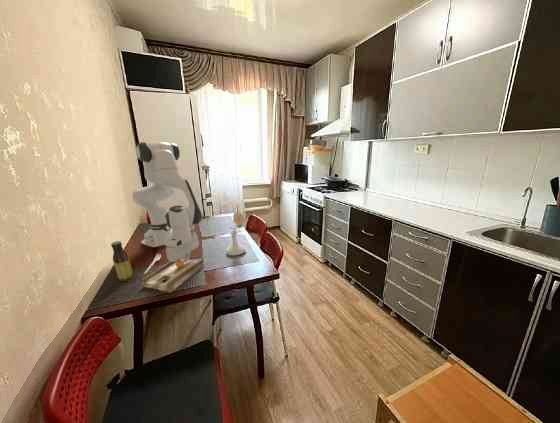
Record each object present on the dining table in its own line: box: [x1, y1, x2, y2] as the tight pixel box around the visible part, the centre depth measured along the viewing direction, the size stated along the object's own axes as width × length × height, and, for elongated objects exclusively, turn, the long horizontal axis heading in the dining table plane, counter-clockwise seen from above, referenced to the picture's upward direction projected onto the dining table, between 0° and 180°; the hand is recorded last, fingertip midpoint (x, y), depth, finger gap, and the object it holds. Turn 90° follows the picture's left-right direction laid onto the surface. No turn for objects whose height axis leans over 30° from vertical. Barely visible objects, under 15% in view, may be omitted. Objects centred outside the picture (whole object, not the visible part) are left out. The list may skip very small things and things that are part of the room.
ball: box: [176, 260, 184, 268], centre depth 119 cm, size 4×4×4 cm
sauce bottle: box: [110, 240, 134, 282], centre depth 114 cm, size 7×6×20 cm
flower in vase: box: [225, 211, 246, 256], centre depth 136 cm, size 13×11×25 cm
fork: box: [143, 253, 162, 275], centre depth 130 cm, size 3×20×2 cm, turn 6°
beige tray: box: [141, 258, 205, 293], centre depth 117 cm, size 16×24×4 cm, turn 161°
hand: (186, 261), depth 123 cm, fingers closed
